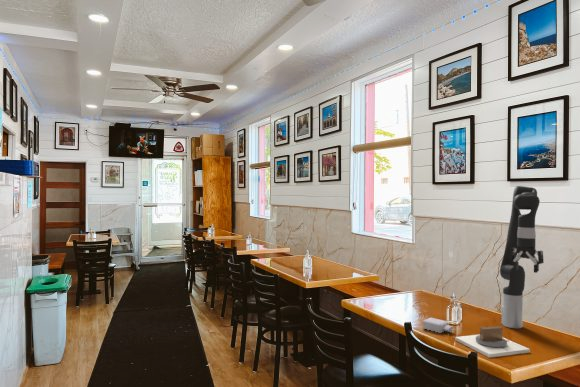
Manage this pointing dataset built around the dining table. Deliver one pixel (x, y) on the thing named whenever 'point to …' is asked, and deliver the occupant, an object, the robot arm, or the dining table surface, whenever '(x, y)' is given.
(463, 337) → the dial plate
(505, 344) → the dial
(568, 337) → the dining table surface
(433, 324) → the grey elongated piece
